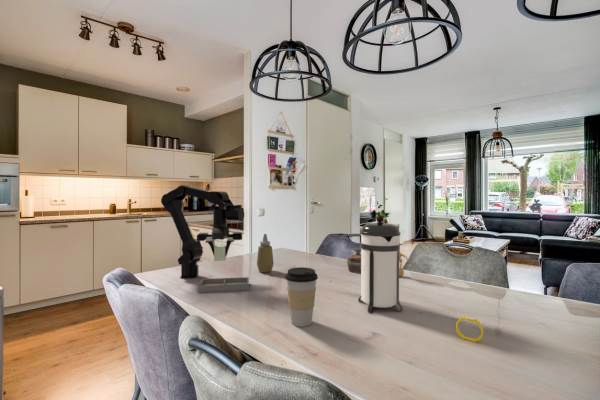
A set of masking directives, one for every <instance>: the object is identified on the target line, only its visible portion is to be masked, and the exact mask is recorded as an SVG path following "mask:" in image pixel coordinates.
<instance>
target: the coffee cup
mask: <svg viewBox="0 0 600 400" xmlns="http://www.w3.org/2000/svg"><path fill="white" fill-rule="evenodd" d="M284 278H285V280H286V281H287V289H286V290H287V296H288V306H289V312H290V313H289V314H290V321H291V324H292V325H293V326H295V327H300V328H301V327H302V328H303V327H308V326H310V325H312V323H313V322H312V321H313V312H314V307H315V299H316V288H317V287H316V285H317V282H316V281H317V280H318V279H319V278H318V274H317V273H316V270H315V269H314V268H310V267H292V268H289V269H288V270H287V273H285V276H284Z"/></svg>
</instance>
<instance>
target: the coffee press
mask: <svg viewBox="0 0 600 400" xmlns="http://www.w3.org/2000/svg"><path fill="white" fill-rule="evenodd" d="M376 221H377V222H373V223H372V222H371V223H367V224H366V223H365V224H364V225H363V226H362V228H361V229H360V230H359V233H360V235H361V237H360V238H361V239H360V250H361V273H360V296H359V297H358V303H365V304H366V305H368V307H367V312H368V313H370V314H374V311H375V309H376V308H381V309H382V308H383V309H384V308H385V309H386V308H387V309H388V308H391V307H392V308H394V309H395V311H396V312H398V313H400V312H401V311H403V306H402V304H401V303H400V277H399V268H400V261H399V251H400V250H401V244H400V237H401V231H400V230H399V227H398V226H396V225H395V224H391V223H385V222H384V217H383V216H382V215H378V216H377V217H376ZM396 305H397V306H398V307H399V308H398V307H397V306H396Z"/></svg>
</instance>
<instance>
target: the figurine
mask: <svg viewBox="0 0 600 400" xmlns="http://www.w3.org/2000/svg"><path fill="white" fill-rule="evenodd" d="M402 257H404V258H405V259H406V260H407V263H410V260H409V258H408V257H407V256H406V255H405V254H402V253H401V251H400V250H399V278H400V277H403V276H404V275H405V271H404V269H403V268H402V265H403V259H402Z"/></svg>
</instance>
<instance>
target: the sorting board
mask: <svg viewBox="0 0 600 400" xmlns="http://www.w3.org/2000/svg"><path fill="white" fill-rule="evenodd" d="M249 279H250V277H249V276H248V277H247V276H246V277H244V276H243V277H222V278H220V277H219V278H218V277H217V278H202V279H201V281H200V282H199V284H198V286H197V292H198V293H199V294H200V293H217V292H218V293H222V292H238V291H239V292H241V291H242V292H243V291H249V284H250V281H249Z"/></svg>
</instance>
